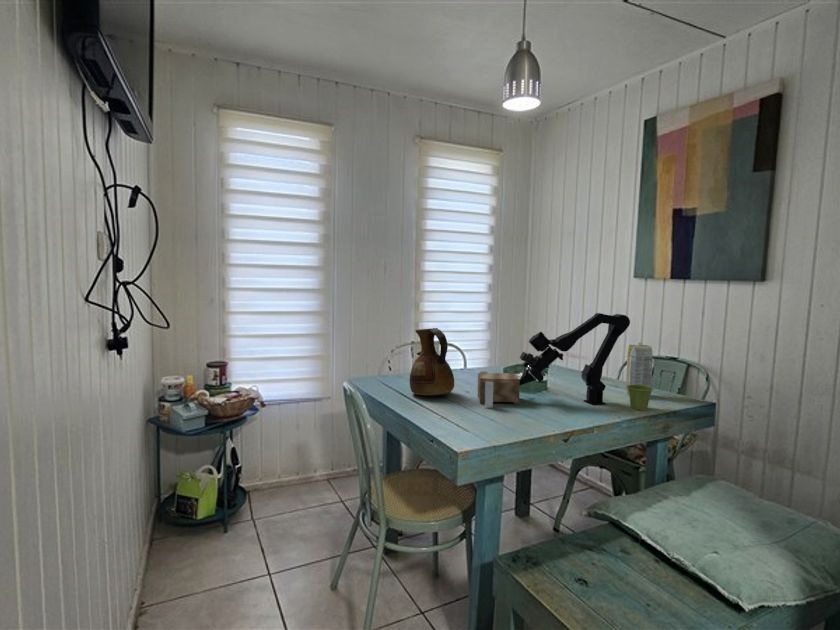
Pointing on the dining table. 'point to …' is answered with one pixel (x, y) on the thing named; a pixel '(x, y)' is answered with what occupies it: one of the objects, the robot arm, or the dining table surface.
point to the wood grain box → (500, 387)
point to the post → (488, 395)
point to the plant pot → (639, 396)
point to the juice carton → (639, 365)
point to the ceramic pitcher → (431, 366)
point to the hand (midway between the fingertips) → (517, 384)
